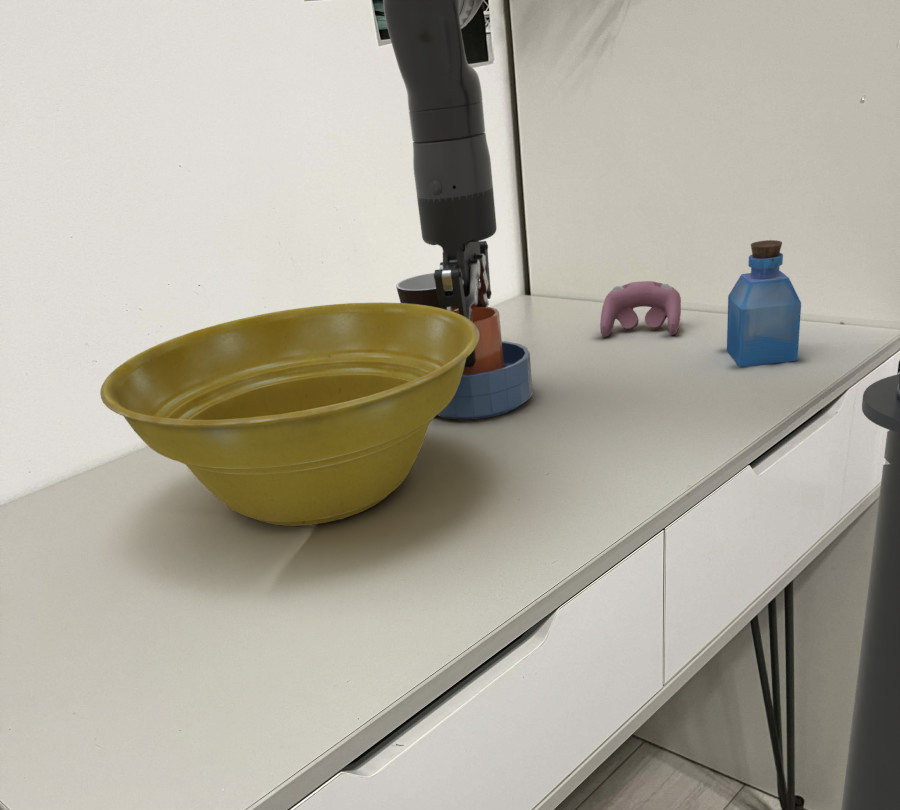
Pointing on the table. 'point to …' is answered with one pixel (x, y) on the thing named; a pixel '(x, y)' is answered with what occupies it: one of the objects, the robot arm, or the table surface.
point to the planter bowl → (298, 403)
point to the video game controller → (638, 295)
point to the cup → (486, 341)
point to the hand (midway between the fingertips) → (472, 354)
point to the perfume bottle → (763, 311)
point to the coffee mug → (418, 290)
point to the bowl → (493, 388)
